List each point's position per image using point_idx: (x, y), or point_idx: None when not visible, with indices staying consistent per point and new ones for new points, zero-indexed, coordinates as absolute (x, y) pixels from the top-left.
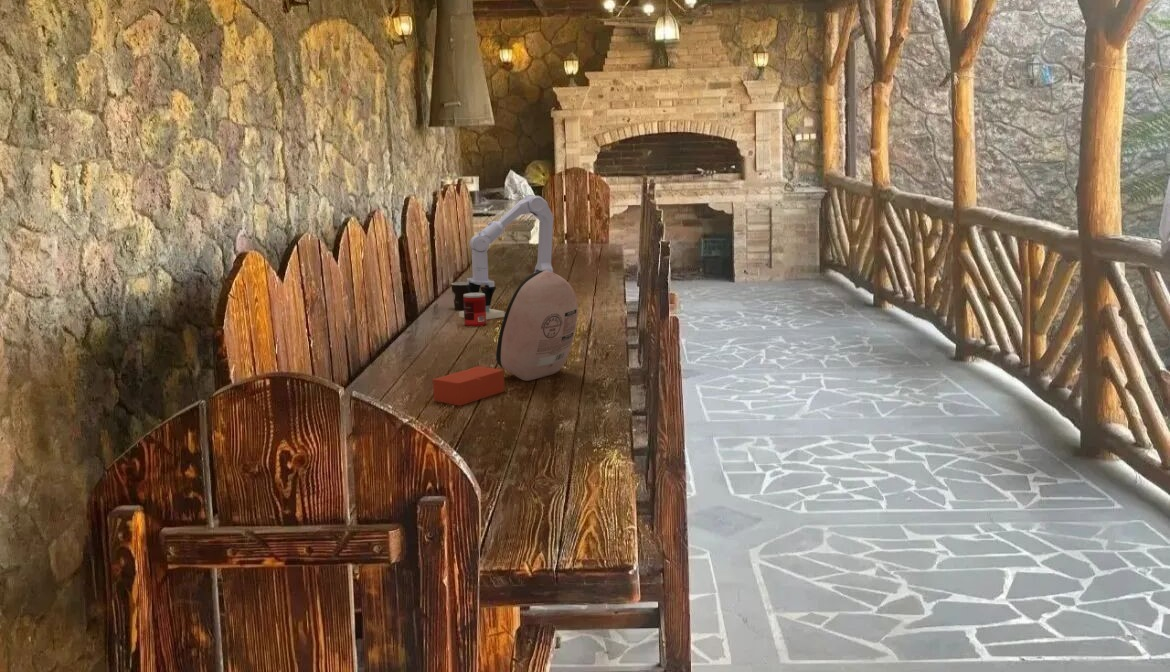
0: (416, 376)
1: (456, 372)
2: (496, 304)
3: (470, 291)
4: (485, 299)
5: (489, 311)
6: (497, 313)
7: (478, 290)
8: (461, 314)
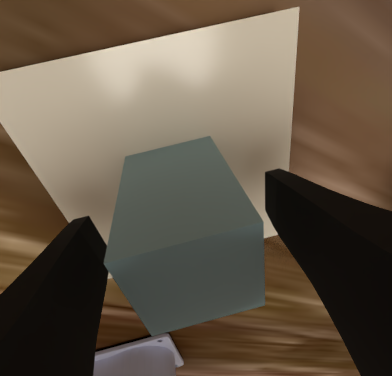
0: None
1: None
2: None
3: (381, 239)
4: (25, 272)
5: None
6: None
7: (340, 323)
8: (249, 17)
